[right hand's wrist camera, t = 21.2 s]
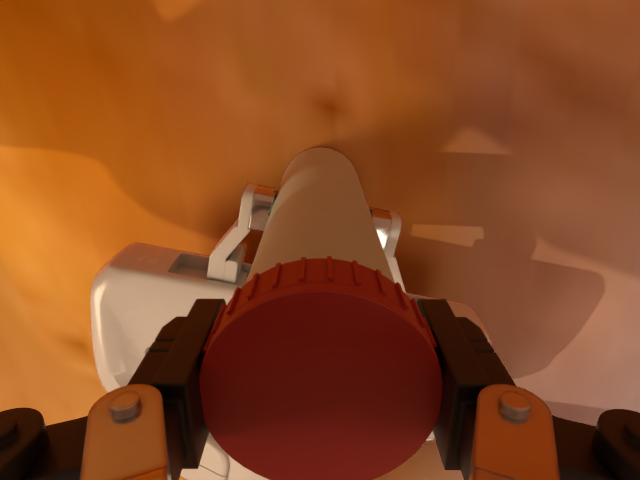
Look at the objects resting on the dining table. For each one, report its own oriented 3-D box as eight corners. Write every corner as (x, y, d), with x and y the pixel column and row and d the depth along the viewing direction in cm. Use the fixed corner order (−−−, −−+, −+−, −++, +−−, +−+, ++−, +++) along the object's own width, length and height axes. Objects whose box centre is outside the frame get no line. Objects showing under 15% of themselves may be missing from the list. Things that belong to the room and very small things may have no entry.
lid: (256, 457, 12) (247, 512, 11) (174, 291, 10) (149, 328, 9) (449, 411, 12) (469, 462, 10) (400, 225, 10) (415, 253, 8)
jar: (304, 133, 26) (275, 248, 9) (372, 169, 27) (460, 338, 10) (269, 199, 27) (190, 405, 11) (335, 233, 28) (357, 472, 11)
